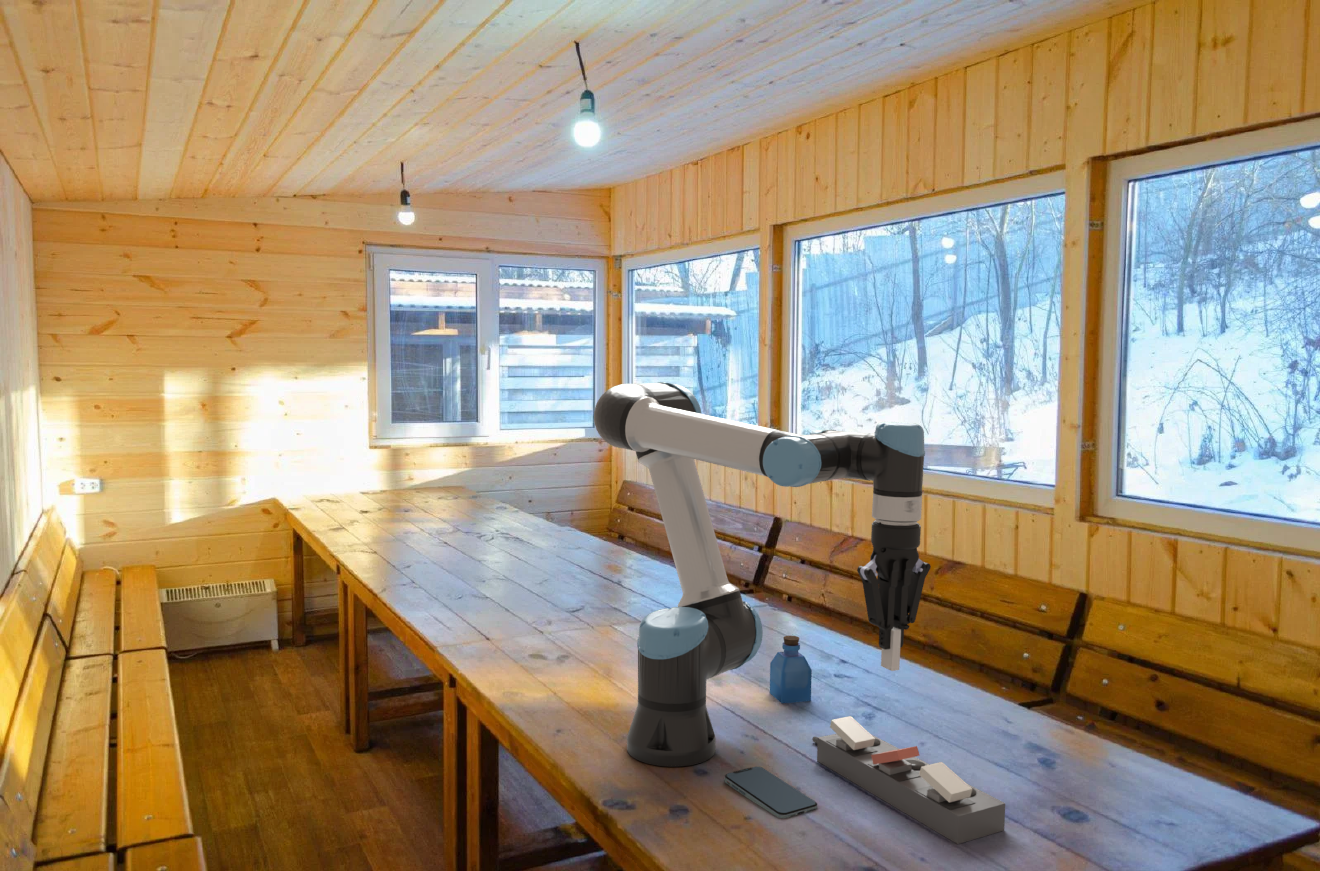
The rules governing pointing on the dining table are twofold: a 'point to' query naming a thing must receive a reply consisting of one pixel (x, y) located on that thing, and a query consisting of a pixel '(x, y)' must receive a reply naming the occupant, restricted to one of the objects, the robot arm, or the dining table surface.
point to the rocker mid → (895, 755)
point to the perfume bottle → (790, 673)
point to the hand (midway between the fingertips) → (890, 667)
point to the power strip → (912, 790)
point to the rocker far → (852, 732)
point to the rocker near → (945, 782)
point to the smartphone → (770, 792)
